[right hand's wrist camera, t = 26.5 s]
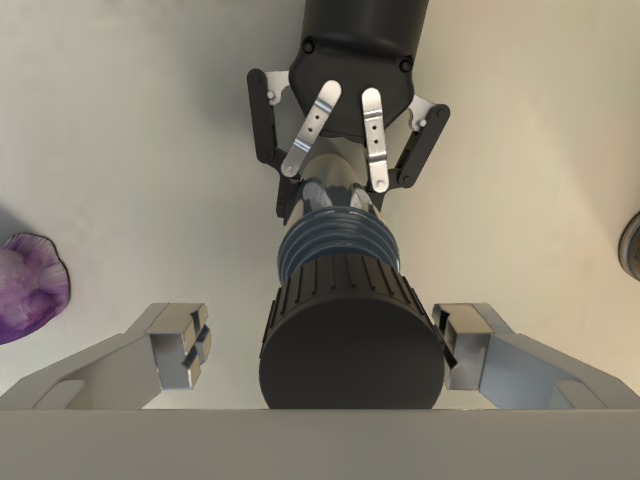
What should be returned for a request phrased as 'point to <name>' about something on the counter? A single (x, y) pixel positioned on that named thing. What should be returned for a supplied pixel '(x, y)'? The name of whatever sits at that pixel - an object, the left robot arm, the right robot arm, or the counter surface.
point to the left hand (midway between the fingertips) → (324, 228)
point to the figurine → (29, 286)
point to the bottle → (333, 219)
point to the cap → (349, 340)
